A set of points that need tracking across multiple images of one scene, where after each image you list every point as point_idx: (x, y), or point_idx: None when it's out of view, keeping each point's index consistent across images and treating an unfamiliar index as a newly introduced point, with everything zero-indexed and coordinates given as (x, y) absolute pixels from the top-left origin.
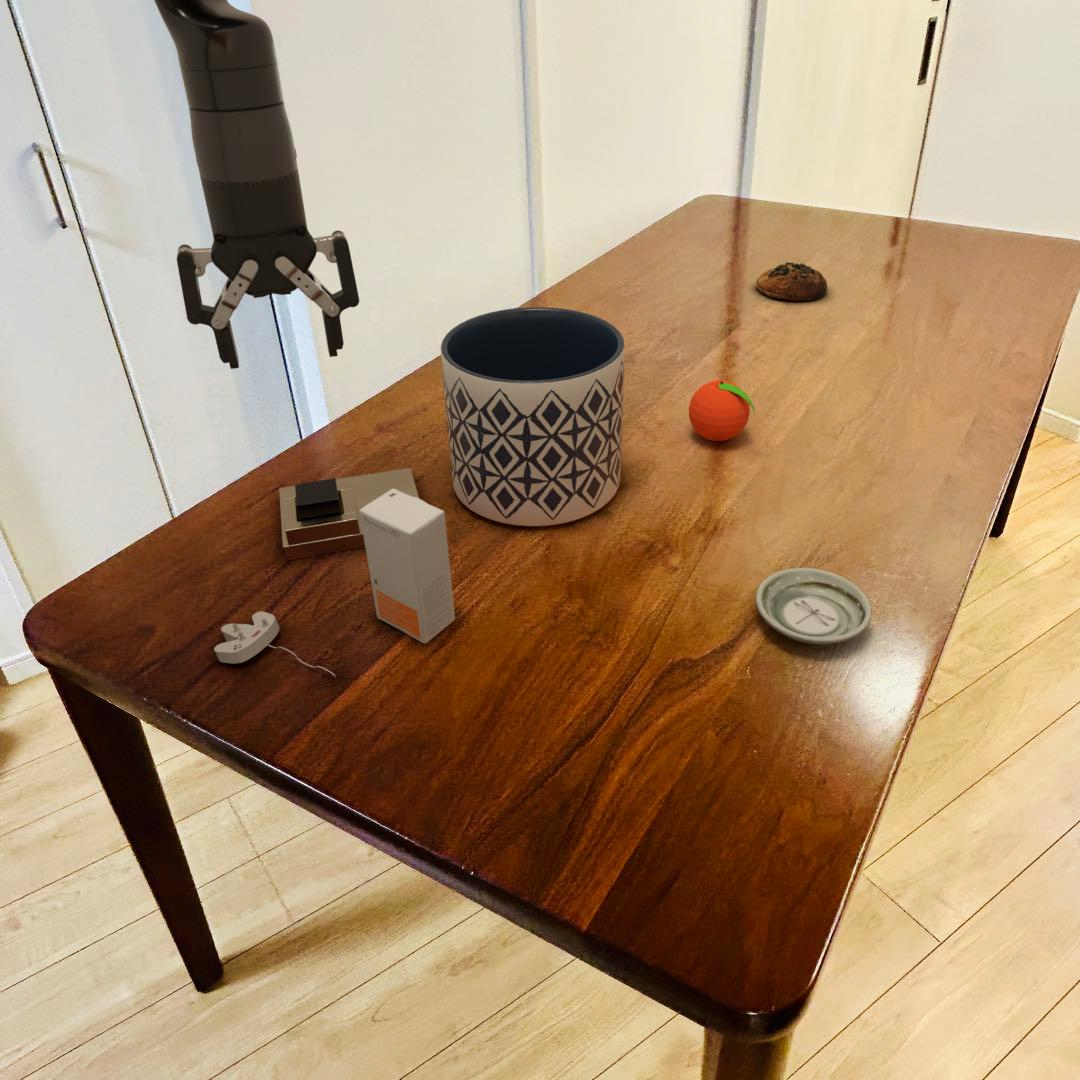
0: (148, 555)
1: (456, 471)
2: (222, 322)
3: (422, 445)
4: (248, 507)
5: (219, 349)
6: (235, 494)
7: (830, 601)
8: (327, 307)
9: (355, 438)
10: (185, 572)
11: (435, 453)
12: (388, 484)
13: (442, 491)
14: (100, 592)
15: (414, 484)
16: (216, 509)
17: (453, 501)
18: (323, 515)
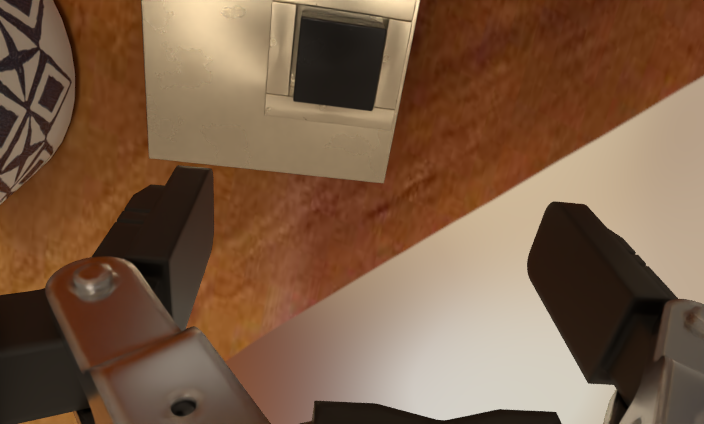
0: (603, 107)
1: (36, 47)
2: (689, 320)
3: None
4: (433, 176)
5: (635, 258)
6: (442, 218)
7: None
8: (115, 293)
9: (234, 299)
10: (571, 33)
11: (104, 214)
12: (196, 118)
13: (103, 91)
14: (697, 36)
15: (147, 98)
16: (478, 189)
17: (84, 49)
18: (336, 16)
